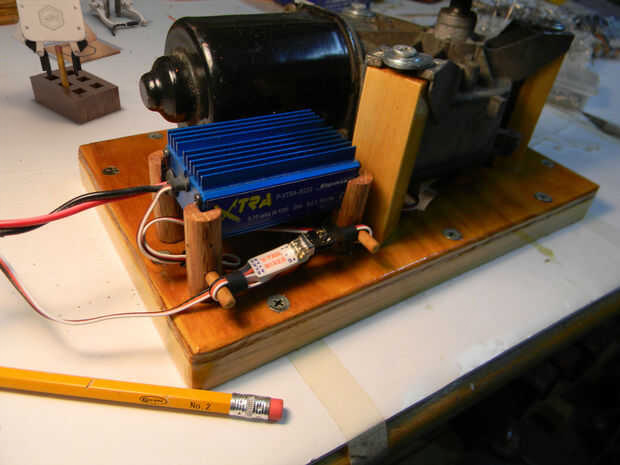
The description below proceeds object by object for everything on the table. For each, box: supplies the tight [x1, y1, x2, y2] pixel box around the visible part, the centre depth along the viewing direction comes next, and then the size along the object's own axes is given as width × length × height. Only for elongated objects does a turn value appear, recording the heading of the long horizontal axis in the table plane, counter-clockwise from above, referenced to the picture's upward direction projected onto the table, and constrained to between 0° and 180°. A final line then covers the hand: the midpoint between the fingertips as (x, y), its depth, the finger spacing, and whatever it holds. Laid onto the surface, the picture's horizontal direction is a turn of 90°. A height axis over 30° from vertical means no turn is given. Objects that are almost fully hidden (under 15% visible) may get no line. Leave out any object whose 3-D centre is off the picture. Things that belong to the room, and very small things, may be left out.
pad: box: [44, 39, 121, 65], centre depth 120 cm, size 16×12×1 cm
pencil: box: [54, 44, 69, 87], centre depth 92 cm, size 1×1×14 cm
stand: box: [29, 64, 122, 125], centre depth 96 cm, size 10×14×6 cm
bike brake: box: [88, 0, 150, 37], centre depth 139 cm, size 14×7×20 cm
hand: (63, 73), depth 92 cm, fingers open, 4 cm apart
